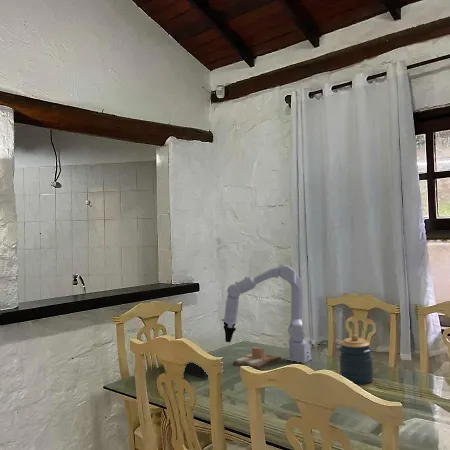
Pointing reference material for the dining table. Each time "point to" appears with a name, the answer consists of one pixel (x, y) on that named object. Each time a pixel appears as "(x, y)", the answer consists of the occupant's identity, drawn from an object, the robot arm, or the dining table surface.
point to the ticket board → (256, 361)
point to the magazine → (195, 370)
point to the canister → (356, 360)
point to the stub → (258, 354)
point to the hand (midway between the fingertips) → (227, 340)
